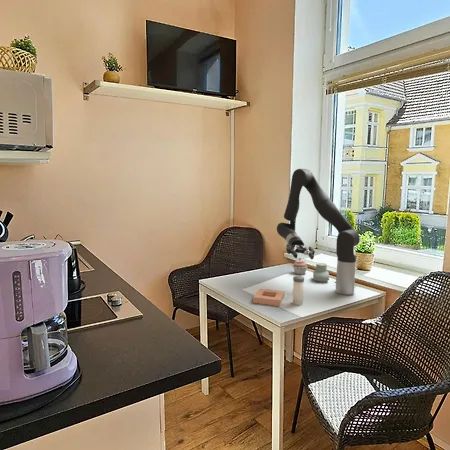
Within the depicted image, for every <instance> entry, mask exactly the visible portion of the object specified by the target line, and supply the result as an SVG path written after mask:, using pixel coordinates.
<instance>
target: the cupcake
mask: <svg viewBox="0 0 450 450" xmlns="http://www.w3.org/2000/svg"><path fill="white" fill-rule="evenodd" d="M308 267H309V266H308V265H307V262H306V261H305V260H304V258H301V257H299V259H296V260H295V262H293V265H292V268H293V270H294V274H296V275H297V276H303V275H306V273H307V269H308Z"/></svg>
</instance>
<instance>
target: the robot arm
mask: <svg viewBox="0 0 450 450" xmlns="http://www.w3.org/2000/svg"><path fill="white" fill-rule="evenodd" d="M291 175H292V176H291V182H290V187H289V188H290V189H289V196H288V200H287V205H286V207H285V211H284V213H283V218H284V219H285V220H287V221H289V223H286V222H280V223H278V224H277V227H276V231H277V234H278V235H279V236H280V237H282V238H283V239H284V240H285V241H286V243H287V244H286V246H285V251H286V252H287V254H288V255H290V254H291V255H292V256H293V257H294V259H297V258H298V254H302V255H304V256H308V257H309V259H310V260H313V259H314V257H315V253H316V251H315V250H314V249H313V247H311V246H308V247H307V246H306V245H305V243H304V241H303V240H302V238H301V237H300V235H298V233H297V232H296V221H297V220H296V219H297V216H298V213H299V210H300V196H301V195H300V194H301V191H302V189H303V188H305V189H306V190H307V192H308V193H309V195H310V197H311V200H312V203H313V206H314V208H315V209H316V211H317V212H318V214H319V215H320V216H321V218H323V220H325V221H326V222H328V223H329V224H330V225H332V227H334V229H336V230H337V232H338V234H337V236H336V245H335V246H336V249H335V250H336V251H335V253H336V256H337V262H336V263H337V264H336V275H335V276H336V277H335V292H336V293H337V294H340V295H346V296H350V295H355V284H356V283H355V282H356V263H357V256H356V255H355V252H354V251H355V250H354V249H355V247H357V246H358V245H359V243H360V241H361V240H360V239H361V238H360V235H359V232H358V231H357V230H356V229H355V228H354V227H353V226H352V224H350V223H349V222H348V221H347V219H346V218H345V217H344V215H343V214H342V213H341V211H340V210H339V209H338V208H337V206H336V205H335V203H334V202H333V200H332V199H331V198H330V197H329V195H328V194H327V192H325V190H324V189H323V188H322V187H321V185H320V184H319V182H318V180H317V179H316V177H315V175H314V173H313V172H312V171H311V170H310V169H307V168H297V169H295V170H294V171H293V173H292V174H291Z"/></svg>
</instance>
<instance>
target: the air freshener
mask: <svg viewBox="0 0 450 450" xmlns="http://www.w3.org/2000/svg"><path fill="white" fill-rule="evenodd" d="M327 268H328V265H327V263H326V262H317V263H316V265H315V270H313V274H312V275H313V276H312V278H313V281H316V282H319V283H324V282H328V281H329V280H330V273H329V271H328V270H327Z"/></svg>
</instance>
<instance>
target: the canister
mask: <svg viewBox="0 0 450 450" xmlns="http://www.w3.org/2000/svg"><path fill="white" fill-rule="evenodd" d="M292 280H293V284H292V285H293V287H292V304H293V305H295V306H302V305H304V304H303V303H304V302H303V301H304V300H303V299H304V284H305V283H304V282H305V277H304V276H303V275H294V276H293V278H292Z"/></svg>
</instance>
